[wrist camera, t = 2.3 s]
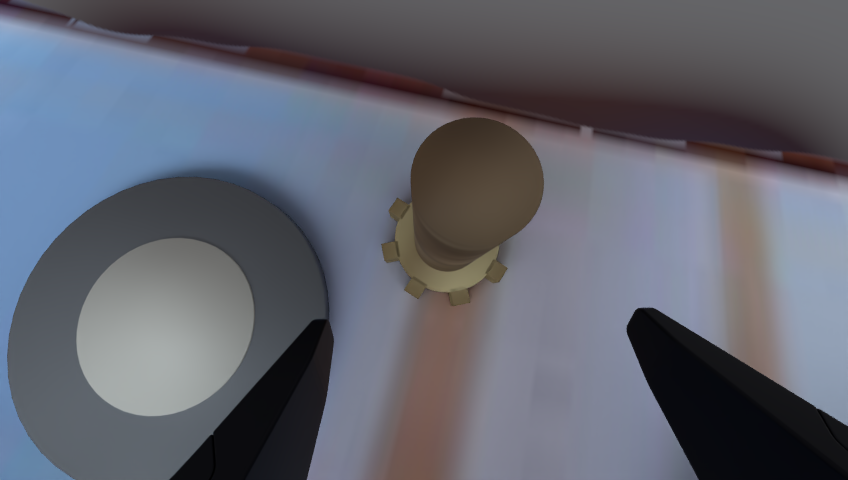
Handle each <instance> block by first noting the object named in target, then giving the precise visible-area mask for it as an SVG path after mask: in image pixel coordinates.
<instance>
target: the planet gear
mask: <svg viewBox="0 0 848 480" xmlns="http://www.w3.org/2000/svg"><path fill="white" fill-rule="evenodd" d="M543 189H544V178H543V171H542V167H541V164H540V161H539V158H538V156H537V154H536V153H535V151H534V149H533V148H532V146H531V145H530V144H529V143H528V141H527V140H526V139H525V138H524V137H523V136H522V135H520V134H519V133H518V132H517V131H515V130H514V129H512V128H511V127H509V126H507V125H505V124H503V123H500V122H498V121H495V120H491V119H486V118H464V119H459V120H455V121H452V122H449V123H447V124H445V125H443V126H441V127H439V128H438V129H436V130H435V131H434V132H432V133H431V134H430V135H429V136H428V137H427V138H426V139H425V141H424V142H423V143H422V144H421V146H420V147H419V149H418V151H417V153H416V155H415V157H414V160H413V164H412V169H411V195H412V202H411V203H410V204H409V205H408V204H407V203H405V202H403V201H402V200H400V199H399V198H397V199H396V201H395V202H394V203H393V205H392V206H391V208H390V209H389V214H390V217H391V218H393V219H394V220H396V221H397V222H398V223H397V227H396V232H395V241H394V242H389V243H384V244H381V245H382V250H383V256H384V260H385V261H386V262H387V263H389V262H394V261H400V263H401V265H402V267H403V268H404V270H405V272H406V273H407V274H408V275H409V277H410V278H411V280H410V282H409V283H408V285H407V286H406V288H405V289H404V290H405V291H406V292H408V293H409V294H411V295H412V296H414V297H415V298H417V299H419V297H420V296H421V294H422V293H423V291H424V289H425V288H427V289H429V290H432V291H436V292H448V294H449V298H450V303H451V305H452V306H456V305H461V304H466V303H470V299H469V295H468V290H467V288H469V287H471V286H473V285H475V284H477V283H478V282H479V281H481V280H482V279H483V278H486V279H487V280H489V281H490V282H492V283H496V282H500V280H501V278H502V277H503V275H504V273H505V272H506V270H507V267H505V266H504V265H502V264H501V263H499V262H498V261H496V258H497V255H498V251H499V245H500V244H501V243H503V242H504V241H506V240H507V239H509V238H510V237H512V236H513V235H515V234H517V233H518V232H519V231H521V230H522V229H523V228H524V227H525V226H526V225H527V224H528V223H529V222H530V221H531V219H532V218H533V217H534V215H535V214H536V212H537V210H538V208H539V206H540V203H541V200H542V195H543Z"/></svg>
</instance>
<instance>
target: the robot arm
mask: <svg viewBox="0 0 848 480" xmlns="http://www.w3.org/2000/svg"><path fill="white" fill-rule="evenodd" d="M627 335H628V337H629V340H630V342H631V344H632V347H633V349H634V352H635V354H636V356H637V359H638V361H639V364H640V366H641V369H642V371H643V373H644V376H645V378H646V380H647V383H648V385H649V387H650V389H651V391H652V393H653V395H654V396H655V398H656V400H657V402H658V404H659V406H660V408H661V410H662V411H663V413H664V415H665V417H666V419H667V421H668V423H669V425H670V427H671V428H672V430H673V432H674V434H675V436H676V438H677V440H678V442H679V443H680V445H681V447H682V449H683V451H684V453H685V455H686V457H687V459H688V460H689V462H690V464H691V466H692V468H693V470H694V472H695V474H696V475H697V477H698V479H699V480H848V426H846V425H845V424H843V423H841V422H840V421H838V420H836V419H835V418H833V417H832V416H830V415H828V414H827V413H825V412H823V411H822V410H820V409H816V407H815V406H813V405H812V404H810V403H809V402H807V401H805V400H804V399H802V398H800V397H799V396H797V395H795V394H794V393H792V392H791V391H789V390H787V389H786V388H784V387H782V386H781V385H779V384H777V383H776V382H774V381H773V380H771V379H769V378H768V377H766V376H764V375H763V374H761V373H759V372H758V371H756V370H755V369H753V368H751V367H750V366H748V365H746V364H745V363H743V362H741V361H740V360H738V359H737V358H735V357H733V356H732V355H730V354H728V353H727V352H725V351H724V350H722V349H720V348H719V347H717V346H715V345H714V344H712V343H710V342H709V341H707V340H706V339H704V338H702V337H701V336H699V335H697V334H696V333H694V332H692V331H691V330H689V329H688V328H686V327H684V326H683V325H681V324H679V323H678V322H676V321H674V320H673V319H671V318H670V317H668V316H666V315H665V314H663V313H661V312H660V311H658V310H656V309H654V308H638V309H636V310H635V312H634V314H633V316H632V317H631V319H630V321H629V323H628V325H627ZM333 345H334V338H333V334H332V330H331V326H330V323H329V320H328V319H314V320H312V321H311V322H310V323H309V324H308V325H307V327H306V328H305V329H304V330H303V331H302V332H301V333H300V334H299V336H298V337H297V338H296V339H295V340H294V341H293V342H292V343H291V345H290V346H289V347H288V348H287V349H286V350H285V351H284V352H283V354H282V355H281V356H280V357H279V358H278V359H277V360H276V361H275V363H274V364H273V365H272V366H271V367H270V368H269V369H268V370H267V372H266V373H265V374H264V375H263V376H262V377H261V378H260V379H259V381H258V382H257V383H256V384H255V385H254V386H253V387H252V388H251V390H250V391H249V392H248V393H247V394H246V395H245V396H244V397H243V399H242V400H241V401H240V402H239V403H238V404H237V405H236V406H235V408H234V409H233V410H232V411H231V412H230V413H229V414H228V415H227V417H226V418H225V419H224V420H223V421H222V422H221V423H220V425H219V426H218V427H217V428H216V429H215V430H214V431H213V434H211V435H210V436H209V437H208V438H207V439H206V440H205V441H204V442H203V443H202V445H201V446H200V447H199V448H198V449H197V450H196V451H195V452H194V453H193V455H192V456H191V457H190V458H189V459H188V460H187V461H186V462H185V463H184V464H183V465H182V466H181V468H180V469H179V470H178V471H177V472H176V473H175V474H174V475H173V476H172V477H171V478H170V479H169V480H307V476H308V472H309V468H310V464H311V460H312V456H313V452H314V447H315V443H316V439H317V435H318V431H319V427H320V423H321V419H322V415H323V410H324V406H325V402H326V397H327V391H328V383H329V376H330V368H331V360H332V353H333Z"/></svg>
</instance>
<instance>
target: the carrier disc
mask: <svg viewBox="0 0 848 480" xmlns="http://www.w3.org/2000/svg"><path fill="white" fill-rule="evenodd" d="M314 319H328V320H329V303H328V292H327V287H326V282H325V278H324V273H323V270H322V268H321V265H320V262H319V260H318V257H317V255H316V253H315V251H314V249H313V247H312V246H311V244H310V242H309V240H308V239H307V238H306V236H305V235H304V233H303V232H302V231H301V229H300V228H299V227H298V226H297V225H296V224H295V223H294V222H293V221H292V220H291V219H290V218H289V217H288V216H287V215H286V214H285V213H284V212H282V211H281V210H280V209H279V208H277V207H276V206H275V205H273V204H272V203H270V202H269V201H267V200H265V199H264V198H262V197H260V196H258V195H257V194H255V193H253V192H251V191H250V190H247V189H245V188H242V187H240V186H237V185H235V184H232V183H228V182H224V181H220V180H216V179H209V178H201V177H175V178H167V179H159V180H155V181H151V182H147V183H143V184H139V185H137V186H134V187H131V188H129V189H126V190H123V191H121V192H119V193H117V194H115V195H113V196H111V197H109V198H107V199H105V200H103V201H101V202H100V203H98V204H97V205H95V206H94V207H92V208H91V209H89V210H87V211H86V212H85V213H83V214H82V215H81V216H80V217H79V218H77V219H76V220H75V221H74V222H72V223H71V224H70V225H69V226H68V227H67V228H66V229H65V230H64V231H63V232H62V233H61V234H60V235H59V236H58V237H57V238H56V239H55V240H54V241H53V243H52V244H51V245H50V246H49V248H48V249H47V250H46V251H45V253H44V254H43V255H42V256H41V258H40V260H39V261H38V263H37V264H36V266H35V267H34V269H33V271H32V272H31V274H30V276H29V278H28V280H27V282H26V284H25V286H24V288H23V290H22V292H21V294H20V297H19V300H18V303H17V306H16V309H15V312H14V315H13V319H12V324H11V328H10V333H9V342H8V353H7V362H8V379H9V384H10V390H11V395H12V399H13V402H14V405H15V408H16V411H17V414H18V417H19V419H20V421H21V423H22V424H23V426H24V428H25V430H26V432H27V434H28V436H29V437H30V438H31V440H32V441H33V442H34V444H35V445H36V446H37V448H38V449H39V450H40V452H41V453H42V454H43V455H44V456H45V457H46V458H47V459H48V460H50V461H51V462H52V463H53V464H54V465H55V466H56V467H57V468H59V469H60V470H62V471H63V472H65V473H66V474H67V475H69V476H70V477H72V478H73V479H76V480H169V479H170V478H171V477H172V476H173V475H174V474H175V473H176V472H177V471H178V470H179V469H180V468H181V466H182V465H183V464H184V463H185V462H186V461H187V460H188V459H189V458H190V457H191V456H192V455H193V453H194V452H195V451H196V450H197V449H198V448H199V447H200V446H201V445H202V443H203V442H204V441H205V440H206V439H207V438H208V437H209V436H210V435H211V434H213V431H214V430H215V429H216V428H217V427H218V426H219V425H220V423H221V422H222V421H223V420H224V419H225V418H226V417H227V415H228V414H229V413H230V412H231V411H232V410H233V409H234V408H235V406H236V405H237V404H238V403H239V402H240V401H241V400H242V399H243V397H244V396H245V395H246V394H247V393H248V392H249V391H250V390H251V388H252V387H253V386H254V385H255V384H256V383H257V382H258V381H259V379H260V378H261V377H262V376H263V375H264V374H265V373H266V372H267V370H268V369H269V368H270V367H271V366H272V365H273V364H274V363H275V361H276V360H277V359H278V358H279V357H280V356H281V355H282V354H283V352H284V351H285V350H286V349H287V348H288V347H289V346H290V345H291V343H292V342H293V341H294V340H295V339H296V338H297V337H298V336H299V334H300V333H301V332H302V331H303V330H304V329H305V328H306V327H307V325H308V324H309V323H310V322H311V321H312V320H314Z"/></svg>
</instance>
